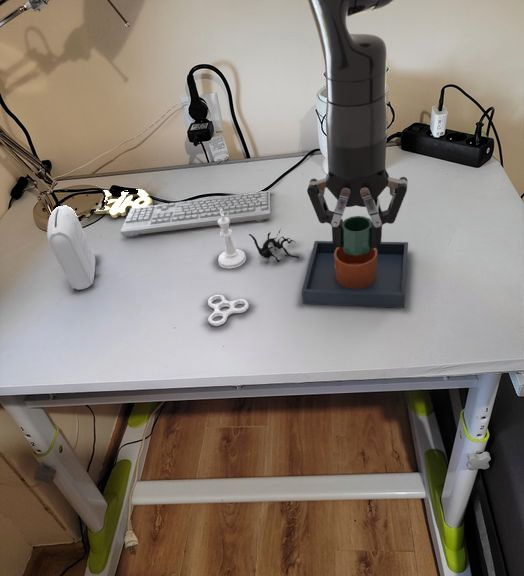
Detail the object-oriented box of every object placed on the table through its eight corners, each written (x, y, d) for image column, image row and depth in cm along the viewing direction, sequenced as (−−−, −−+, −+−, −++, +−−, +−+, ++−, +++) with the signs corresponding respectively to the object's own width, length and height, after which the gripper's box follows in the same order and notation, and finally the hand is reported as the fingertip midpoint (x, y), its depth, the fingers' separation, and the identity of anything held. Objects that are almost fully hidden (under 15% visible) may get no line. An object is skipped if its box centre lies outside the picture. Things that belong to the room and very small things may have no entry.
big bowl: (378, 264, 82) (378, 240, 79) (375, 290, 78) (375, 266, 75) (337, 263, 84) (336, 240, 80) (332, 288, 79) (331, 265, 76)
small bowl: (373, 238, 78) (373, 215, 75) (370, 256, 75) (370, 233, 72) (344, 238, 79) (343, 215, 76) (340, 255, 76) (339, 232, 73)
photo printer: (75, 260, 96) (46, 201, 87) (97, 255, 96) (71, 196, 88) (71, 293, 89) (39, 233, 80) (95, 287, 89) (66, 227, 80)
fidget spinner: (208, 299, 82) (207, 295, 82) (247, 292, 82) (246, 288, 82) (209, 328, 77) (208, 324, 77) (250, 321, 77) (249, 317, 77)
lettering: (161, 191, 110) (159, 187, 110) (145, 216, 104) (144, 212, 103) (59, 195, 116) (57, 191, 115) (38, 219, 109) (36, 215, 108)
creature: (278, 242, 93) (244, 254, 89) (280, 214, 90) (245, 225, 85) (308, 259, 88) (273, 272, 84) (311, 230, 85) (275, 242, 81)
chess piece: (221, 271, 87) (209, 221, 80) (216, 256, 91) (203, 206, 84) (249, 264, 88) (239, 213, 81) (242, 249, 91) (232, 199, 84)
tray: (407, 254, 83) (408, 241, 82) (404, 308, 75) (405, 295, 73) (315, 252, 87) (314, 240, 86) (302, 303, 79) (301, 291, 77)
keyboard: (270, 192, 103) (268, 183, 102) (271, 221, 96) (269, 212, 95) (131, 210, 106) (128, 201, 104) (123, 239, 99) (119, 230, 98)
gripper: (295, 147, 64) (306, 258, 76) (413, 143, 60) (405, 260, 72) (305, 122, 69) (314, 230, 81) (415, 116, 65) (407, 230, 77)
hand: (357, 244), depth 76 cm, fingers closed on small bowl, 4 cm apart
